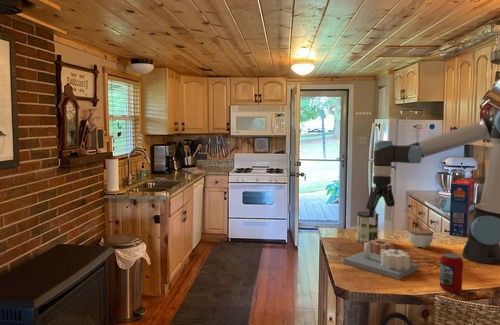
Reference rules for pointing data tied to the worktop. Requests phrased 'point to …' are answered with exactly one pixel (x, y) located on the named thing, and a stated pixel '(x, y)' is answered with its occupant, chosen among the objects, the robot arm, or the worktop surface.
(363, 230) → the coffee can
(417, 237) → the lidded jar
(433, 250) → the worktop surface
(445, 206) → the teapot
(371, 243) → the rust gear
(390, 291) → the worktop surface
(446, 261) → the beverage can
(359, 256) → the gear board
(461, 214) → the pasta box
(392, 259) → the cream gear
